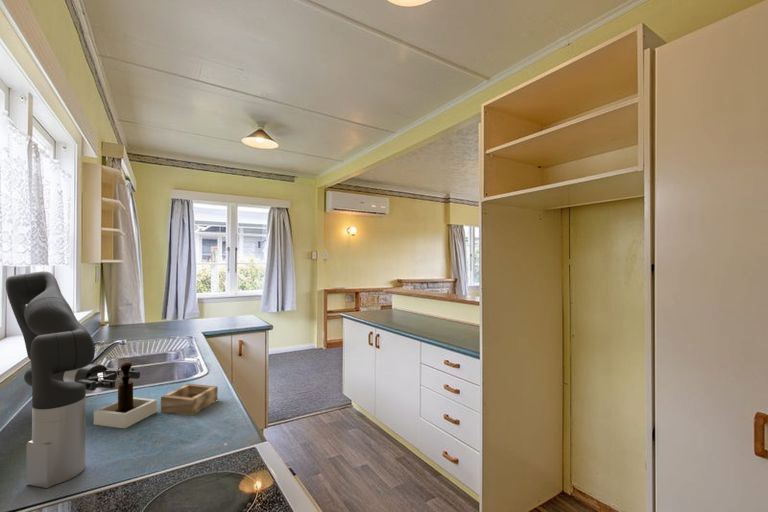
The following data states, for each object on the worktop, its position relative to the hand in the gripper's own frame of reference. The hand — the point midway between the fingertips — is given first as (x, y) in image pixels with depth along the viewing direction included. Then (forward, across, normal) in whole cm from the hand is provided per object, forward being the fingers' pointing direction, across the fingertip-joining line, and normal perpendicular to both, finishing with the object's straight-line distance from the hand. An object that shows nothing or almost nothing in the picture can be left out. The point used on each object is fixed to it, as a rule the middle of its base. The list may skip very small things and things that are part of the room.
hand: (127, 379), depth 111 cm
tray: (0, 0, +12) cm, 12 cm away
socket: (+13, +12, +12) cm, 21 cm away
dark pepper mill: (0, 0, +12) cm, 12 cm away
